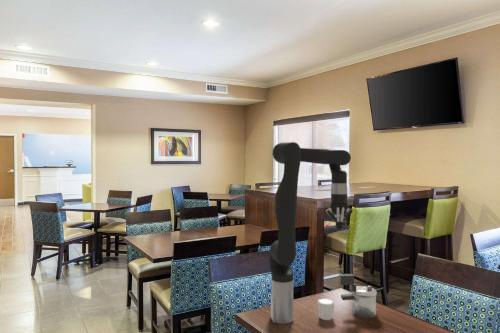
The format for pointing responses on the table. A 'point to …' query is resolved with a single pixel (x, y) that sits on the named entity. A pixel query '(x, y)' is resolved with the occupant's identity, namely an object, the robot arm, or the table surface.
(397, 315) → the table surface
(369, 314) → the pot
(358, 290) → the lid
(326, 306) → the white cylinder
